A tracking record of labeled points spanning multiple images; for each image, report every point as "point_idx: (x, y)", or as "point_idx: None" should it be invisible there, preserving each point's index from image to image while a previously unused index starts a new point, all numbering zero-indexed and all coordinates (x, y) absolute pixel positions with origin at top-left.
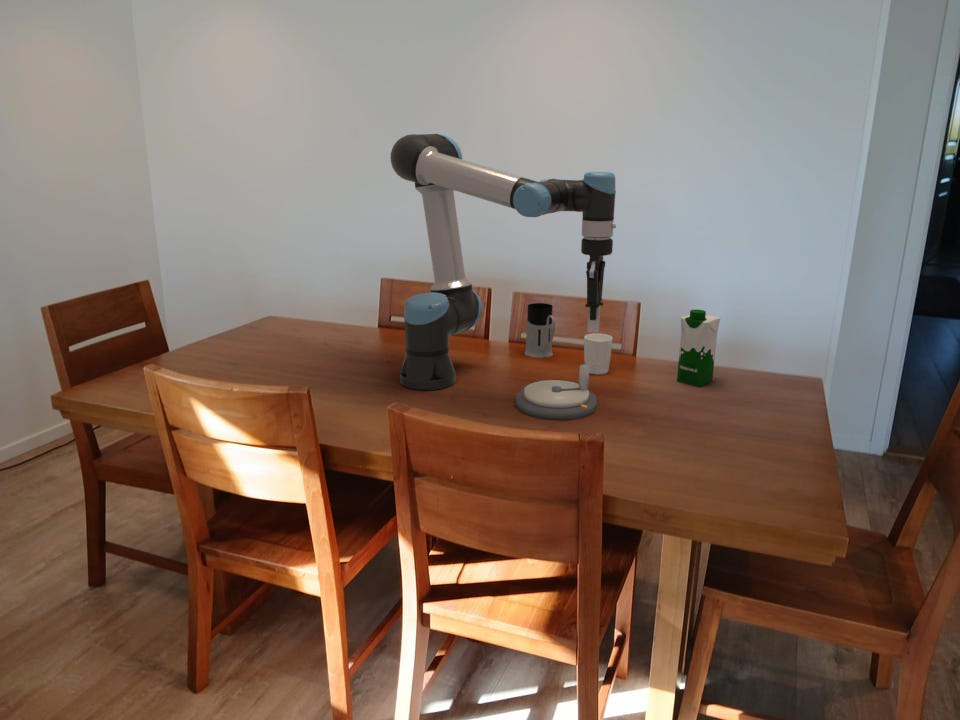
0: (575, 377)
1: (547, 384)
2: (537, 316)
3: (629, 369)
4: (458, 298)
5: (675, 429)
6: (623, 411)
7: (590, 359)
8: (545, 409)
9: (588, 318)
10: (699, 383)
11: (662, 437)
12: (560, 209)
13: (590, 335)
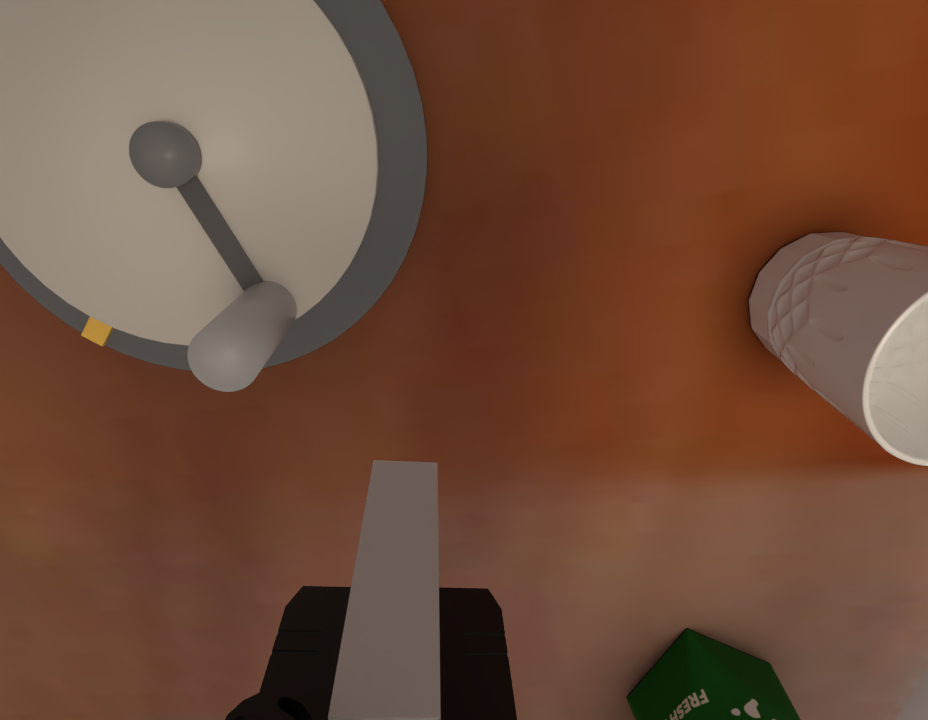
0: (686, 194)
1: (264, 72)
2: None
3: (842, 447)
4: None
5: (137, 641)
6: (246, 468)
7: (806, 288)
8: None
9: (355, 569)
10: (631, 707)
11: (34, 609)
12: None
13: None
